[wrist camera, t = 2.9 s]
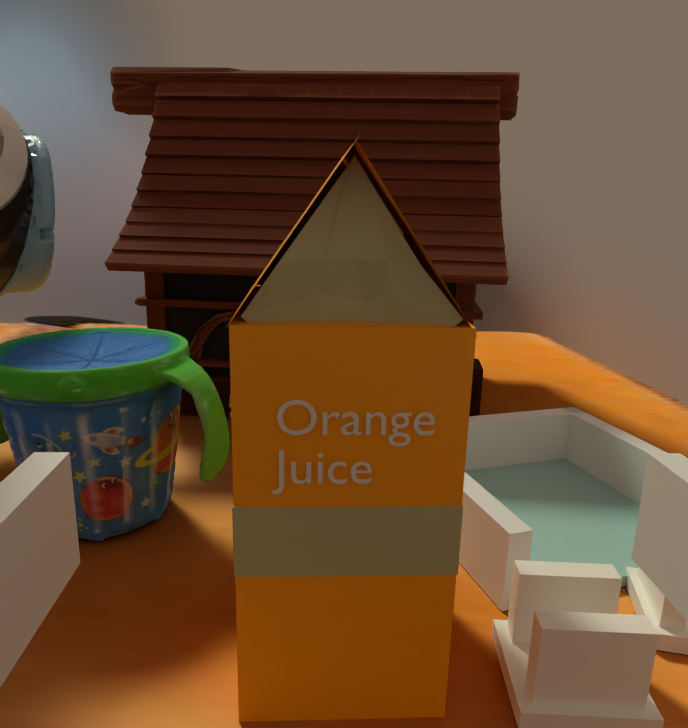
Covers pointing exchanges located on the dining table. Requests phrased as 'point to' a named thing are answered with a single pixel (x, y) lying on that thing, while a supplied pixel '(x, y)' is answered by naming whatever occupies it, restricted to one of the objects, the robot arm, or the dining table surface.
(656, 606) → the white upright piece
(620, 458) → the tray
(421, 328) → the orange juice
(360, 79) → the house
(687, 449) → the dining table surface
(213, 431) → the snack cup
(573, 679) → the clip
